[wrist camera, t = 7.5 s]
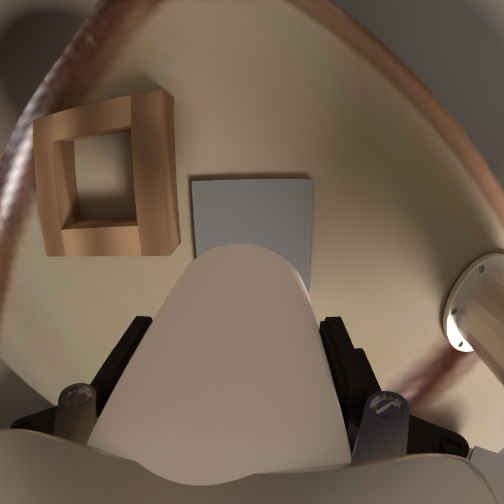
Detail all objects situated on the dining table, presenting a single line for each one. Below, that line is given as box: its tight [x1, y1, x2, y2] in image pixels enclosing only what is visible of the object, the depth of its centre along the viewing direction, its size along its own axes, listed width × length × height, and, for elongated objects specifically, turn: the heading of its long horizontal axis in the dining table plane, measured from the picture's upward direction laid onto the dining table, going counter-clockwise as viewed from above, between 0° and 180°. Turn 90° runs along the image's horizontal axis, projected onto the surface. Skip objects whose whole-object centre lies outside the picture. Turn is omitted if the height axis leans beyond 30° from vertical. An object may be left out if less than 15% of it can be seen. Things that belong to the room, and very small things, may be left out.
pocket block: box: [33, 90, 181, 256], centre depth 24 cm, size 13×13×4 cm
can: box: [87, 243, 352, 486], centre depth 9 cm, size 6×6×12 cm
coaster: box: [192, 178, 313, 291], centre depth 27 cm, size 10×10×1 cm
